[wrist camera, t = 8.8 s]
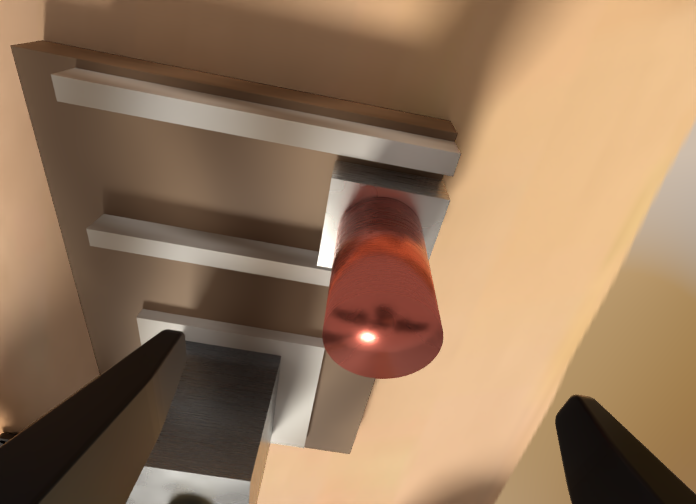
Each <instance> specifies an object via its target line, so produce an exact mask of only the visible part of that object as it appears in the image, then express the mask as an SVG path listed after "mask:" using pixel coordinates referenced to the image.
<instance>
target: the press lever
mask: <svg viewBox="0 0 696 504" xmlns="http://www.w3.org/2000/svg"><path fill="white" fill-rule="evenodd" d="M449 202H450V198H449V195H448V193H447V190H446V187H445V184H444V182H443V181H442V180H437V179H432V178H427V177H421V176H416V175H411V174H405V173H400V172H395V171H390V170H384V169H379V168H374V167H368V166H363V165H358V164H353V163H347V162H342V161H337V160H335V164H334V169H333V173H332V178H331V184H330V190H329V196H328V202H327V208H326V214H325V220H324V226H323V232H322V238H321V244H320V251H319V257H318V263H317V266H322V267H328V268H332V270H331V277H330V284H329V291H328V297H327V304H326V311H325V318H324V325H323V333H322V339H323V344H324V347H325V349H326V351H327V353H328V354H329V356H330V357H331V358H332V359H333V361H335V362H336V363H337V364H338V365H339V366H341V367H342V368H344V369H346V370H348V371H350V372H352V373H354V374H357V375H360V376H364V377H369V378H378V379H388V378H397V377H402V376H406V375H409V374H412V373H414V372H416V371H419V370H420V369H422V368H424V367H425V366H427V365H428V364H429V363H430V362H431V361H432V360H433V359H434V358H435V357H436V356H437V354H438V353H439V351H440V349H441V346H442V343H443V329H442V325H441V320H440V315H439V310H438V305H437V300H436V295H435V290H434V285H433V280H432V275H431V270H430V265H429V258H430V255H431V252H432V250H433V247H434V244H435V241H436V239H437V236H438V233H439V230H440V227H441V225H442V222H443V219H444V216H445V214H446V211H447V208H448V205H449Z"/></svg>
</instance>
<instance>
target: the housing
mask: <svg viewBox="0 0 696 504" xmlns="http://www.w3.org/2000/svg"><path fill="white" fill-rule="evenodd" d="M185 342H186V354H187V358H186V364H185V367H184V370H183V373H182V376H181V378H180V381H179V384H178V387H177V389H176V392H175V395H174V398H173V400H172V403H171V406H170V409H169V411H168V414H167V417H166V420H165V422H164V425H163V427H162V430H161V432H160V435H159V437H158V439H157V441H156V443H155V445H154V447H153V449H152V451H151V453H150V456H149V458H148V460H147V462H146V464H145V466H144V468H143V470H142V472H141V474H140V476H139V478H138V480H137V482H136V484H135V486H134V488H133V490H132V492H131V494H130V496H129V498H128V500H127V502H126V504H257V499H258V495H259V490H260V486H261V481H262V477H263V473H264V468H265V464H266V459H267V455H268V450H269V446H270V441H271V437H272V431H273V423H274V414H275V406H276V398H277V389H278V381H279V373H280V364H281V356H280V355H273V354H267V353H261V352H255V351H248V350H242V349H236V348H230V347H223V346H217V345H211V344H204V343H198V342H192V341H186V340H185Z"/></svg>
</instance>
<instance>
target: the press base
mask: <svg viewBox="0 0 696 504" xmlns="http://www.w3.org/2000/svg"><path fill="white" fill-rule="evenodd" d="M11 49H12V53H13V57H14V60H15V64H16V68H17V71H18V75H19V79H20V82H21V86H22V90H23V93H24V97H25V101H26V104H27V108H28V112H29V115H30V119H31V123H32V126H33V130H34V134H35V137H36V141H37V145H38V148H39V152H40V156H41V159H42V163H43V167H44V170H45V174H46V178H47V181H48V185H49V189H50V193H51V196H52V200H53V204H54V207H55V211H56V215H57V218H58V222H59V226H60V229H61V233H62V237H63V240H64V244H65V248H66V251H67V255H68V259H69V262H70V266H71V270H72V273H73V277H74V281H75V284H76V288H77V292H78V295H79V299H80V303H81V306H82V310H83V314H84V317H85V321H86V325H87V328H88V332H89V336H90V339H91V343H92V347H93V350H94V354H95V358H96V361H97V365H98V369H99V372H100V375H101V374H102V373H104V372H105V371H107V370H108V369H109V368H111V367H112V366H114V365H115V364H116V363H118V362H119V361H120V360H122V359H123V358H125V357H126V356H127V355H129V354H130V353H132V352H133V351H134V350H136V349H137V348H139V347H140V346H141V345H143V344H144V343H146V342H147V341H148V340H150V339H151V338H153V337H154V336H155V335H157V334H158V333H160V332H161V331H163V330H165V329H171V330H177V331H182V332H183V333H184V334H185V340H186V341H192V342H198V343H204V344H211V345H217V346H223V347H230V348H236V349H242V350H248V351H255V352H261V353H267V354H273V355H280V356H281V364H280V373H279V381H278V389H277V398H276V406H275V414H274V423H273V431H272V437H271V441H270V443H274V444H280V445H287V446H294V447H301V448H304V447H305V448H312V449H318V450H325V451H332V452H339V453H345V454H350V452H351V449H352V446H353V443H354V440H355V437H356V434H357V431H358V428H359V425H360V422H361V420H362V417H363V414H364V411H365V408H366V405H367V402H368V399H369V396H370V393H371V390H372V387H373V384H374V381H375V378H369V377H364V376H360V375H357V374H354V373H352V372H350V371H348V370H346V369H344V368H342V367H341V366H339V365H338V364H337V363H336V362H335V361H333V359H332V358H331V357H330V356H329V354H328V353H327V351H326V349H325V347H324V344H323V339H322V333H323V325H324V318H325V311H326V304H327V297H328V291H329V284H330V277H331V270H332V268H328V267H322V266H317V263H318V257H319V251H320V244H321V238H322V232H323V226H324V220H325V214H326V208H327V202H328V196H329V190H330V184H331V178H332V173H333V169H334V164H335V160H337V161H342V162H347V163H353V164H358V165H363V166H368V167H374V168H379V169H384V170H390V171H395V172H400V173H405V174H411V175H416V176H421V177H427V178H432V179H437V180H442V178H443V175H448V176H453V175H454V172H455V169H456V167H457V164H458V161H459V158H460V155H461V153H460V151H459V149H458V147H457V145H456V143H455V139H456V136H457V132H456V130H455V128H454V126H453V125H452V123H451V121H447V120H442V119H437V118H432V117H427V116H422V115H417V114H412V113H407V112H402V111H397V110H392V109H387V108H381V107H376V106H371V105H366V104H361V103H356V102H351V101H346V100H341V99H336V98H331V97H326V96H321V95H316V94H311V93H306V92H301V91H296V90H291V89H285V88H280V87H275V86H270V85H265V84H260V83H255V82H250V81H245V80H240V79H235V78H230V77H225V76H220V75H215V74H210V73H205V72H200V71H195V70H189V69H184V68H179V67H174V66H169V65H164V64H159V63H154V62H149V61H144V60H139V59H134V58H129V57H124V56H119V55H114V54H109V53H104V52H99V51H93V50H88V49H83V48H78V47H73V46H68V45H63V44H58V43H53V42H48V41H43V40H42V41H36V42H30V43H24V44H17V45H11Z"/></svg>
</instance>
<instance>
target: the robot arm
mask: <svg viewBox="0 0 696 504" xmlns="http://www.w3.org/2000/svg"><path fill="white" fill-rule="evenodd" d="M186 358H187V354H186V342H185V334H184V333H183V332H182V331H177V330H171V329H165V330H163V331H161V332H160V333H158V334H157V335H155V336H154V337H153V338H151V339H150V340H148V341H147V342H146V343H144V344H143V345H141V346H140V347H139V348H137V349H136V350H134V351H133V352H132V353H130V354H129V355H127V356H126V357H125V358H123V359H122V360H120V361H119V362H118V363H116V364H115V365H114V366H112V367H111V368H109V369H108V370H107V371H105V372H104V373H102V374H101V375H100V376H98V377H97V378H95V379H94V380H93V381H91V382H90V383H88V384H87V385H86V386H84V387H83V388H81V389H80V390H79V391H77V392H76V393H74V394H73V395H72V396H70V397H69V398H67V399H66V400H65V401H63V402H62V403H61V404H59V405H58V406H56V407H55V408H54V409H52V410H51V411H49V412H48V413H47V414H45V415H44V416H42V417H41V418H40V419H38V420H37V421H35V422H34V423H33V424H31V425H30V426H28V427H27V428H26V429H24V430H23V431H21V432H20V433H19V434H17V435H14V434H7V433H2V434H1V435H0V504H126V502H127V500H128V498H129V496H130V494H131V492H132V490H133V488H134V486H135V484H136V482H137V480H138V478H139V476H140V474H141V472H142V470H143V468H144V466H145V464H146V462H147V460H148V458H149V456H150V453H151V451H152V449H153V447H154V445H155V443H156V441H157V439H158V437H159V435H160V432H161V430H162V427H163V425H164V422H165V420H166V417H167V414H168V411H169V409H170V406H171V403H172V400H173V398H174V395H175V392H176V389H177V387H178V384H179V381H180V378H181V376H182V373H183V370H184V367H185V364H186ZM555 424H556V430H557V435H558V440H559V445H560V451H561V456H562V461H563V466H564V472H565V477H566V482H567V486H568V491H569V495H570V498H571V501H572V504H696V494H695V493H694V492H693V491H692V490H691V489H689V488H688V487H687V486H686V485H685V484H684V483H683V482H682V481H681V480H680V479H679V478H678V477H677V476H676V475H675V474H674V473H672V472H671V471H670V470H669V469H668V468H667V467H666V466H665V465H664V464H663V463H662V462H661V461H660V460H659V459H658V458H657V457H655V456H654V455H653V454H652V453H651V452H650V451H649V450H648V449H647V448H646V447H645V446H644V445H643V444H642V443H641V442H640V441H639V440H637V439H636V438H635V437H634V436H633V435H632V434H631V433H630V432H629V431H628V430H627V429H626V428H625V427H624V426H622V424H620V423H619V422H618V421H617V420H616V419H615V418H614V417H613V416H612V415H611V414H610V413H609V412H608V411H607V410H605V409H604V408H603V407H602V406H601V405H600V404H599V403H598V402H597V401H596V400H595V399H593V398H591V397H588V396H582V395H573V396H571V397H570V398H569V399H568V401H567V402H566V403H565V404H564V406H563V407H562V408H561V409H560V411H559V412H558V413H557V415H556V420H555Z"/></svg>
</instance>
